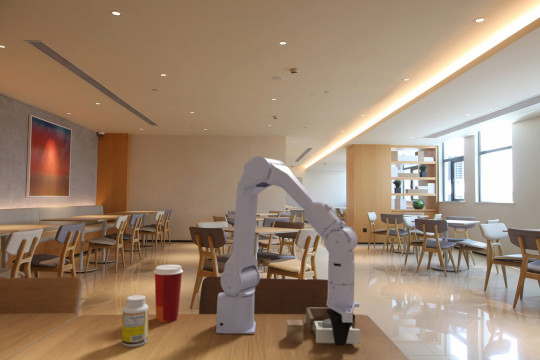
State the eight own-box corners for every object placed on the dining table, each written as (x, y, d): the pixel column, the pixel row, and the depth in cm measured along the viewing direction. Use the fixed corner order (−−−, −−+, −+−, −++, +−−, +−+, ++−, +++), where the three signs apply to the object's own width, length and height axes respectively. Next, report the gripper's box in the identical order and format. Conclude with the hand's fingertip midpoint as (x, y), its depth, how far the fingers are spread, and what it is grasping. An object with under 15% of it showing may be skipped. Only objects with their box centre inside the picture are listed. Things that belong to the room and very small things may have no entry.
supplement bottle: (133, 336, 88) (135, 292, 89) (152, 340, 86) (154, 295, 86) (115, 345, 83) (117, 298, 83) (135, 349, 81) (137, 302, 81)
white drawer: (316, 344, 84) (317, 330, 84) (311, 328, 94) (311, 316, 94) (360, 345, 84) (360, 331, 84) (350, 328, 94) (350, 316, 94)
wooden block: (287, 342, 87) (287, 324, 87) (286, 336, 90) (286, 319, 90) (302, 342, 87) (303, 325, 87) (301, 336, 90) (301, 319, 90)
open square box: (310, 335, 91) (310, 318, 91) (306, 322, 100) (306, 307, 101) (354, 335, 91) (355, 319, 92) (346, 322, 101) (346, 307, 101)
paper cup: (185, 315, 104) (186, 264, 104) (175, 324, 96) (177, 270, 97) (158, 313, 105) (159, 263, 105) (146, 323, 97) (148, 269, 98)
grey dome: (320, 327, 92) (320, 318, 92) (342, 327, 93) (342, 318, 93) (324, 335, 87) (324, 326, 87) (348, 335, 87) (348, 326, 87)
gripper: (367, 291, 75) (367, 359, 75) (351, 275, 90) (350, 332, 89) (333, 290, 75) (331, 359, 75) (322, 274, 90) (321, 331, 89)
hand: (340, 344), depth 82 cm, fingers closed
